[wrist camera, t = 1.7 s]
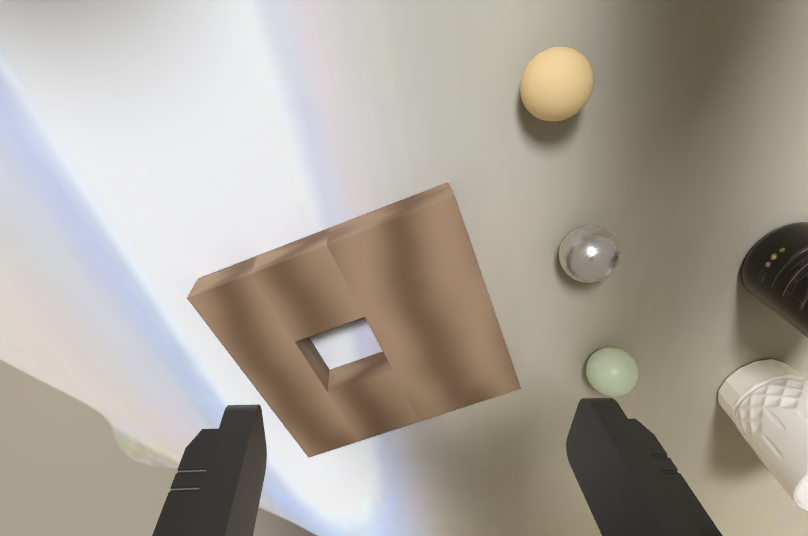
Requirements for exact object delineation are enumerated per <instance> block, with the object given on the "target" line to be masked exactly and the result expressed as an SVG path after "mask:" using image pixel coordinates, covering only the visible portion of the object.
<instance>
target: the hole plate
mask: <svg viewBox="0 0 808 536" xmlns="http://www.w3.org/2000/svg"><path fill="white" fill-rule="evenodd" d="M187 299H188V300H189V301H190V303H191V304H192V305H193V307H194V308H195V309H196V311H197V312H198V313H199V315H200V316H201V317H202V319H203V320H204V321H205V322H206V324H207V325H208V326H209V328H210V329H211V330H212V332H213V333H214V334H215V336H216V337H217V338H218V339H219V341H220V342H221V343H222V345H223V346H224V347H225V349H226V350H227V351H228V353H229V354H230V355H231V357H232V358H233V359H234V360H235V362H236V363H237V364H238V366H239V367H240V368H241V370H242V371H243V372H244V374H245V375H246V376H247V378H248V379H249V380H250V381H251V383H252V384H253V385H254V387H255V388H256V389H257V391H258V392H259V393H260V395H261V396H262V397H263V398H264V400H265V401H266V402H267V404H268V405H269V406H270V408H271V409H272V410H273V412H274V413H275V414H276V416H277V417H278V418H279V419H280V421H281V422H282V423H283V425H284V426H285V427H286V429H287V430H288V431H289V433H290V434H291V435H292V437H293V438H294V439H295V440H296V442H297V443H298V444H299V446H300V447H301V448H302V450H303V451H304V452H305V454H306V455H307V456H308V457H312V456H315V455H318V454H321V453H324V452H327V451H330V450H333V449H336V448H340V447H343V446H346V445H349V444H352V443H355V442H358V441H361V440H364V439H367V438H370V437H373V436H376V435H379V434H383V433H386V432H389V431H392V430H395V429H398V428H401V427H404V426H407V425H410V424H413V423H416V422H419V421H422V420H426V419H429V418H432V417H435V416H438V415H441V414H444V413H447V412H450V411H453V410H456V409H459V408H462V407H465V406H469V405H472V404H475V403H478V402H481V401H484V400H487V399H490V398H493V397H496V396H499V395H502V394H505V393H508V392H512V391H515V390H518V389H521V387H520V385H519V382H518V379H517V376H516V373H515V370H514V367H513V364H512V361H511V358H510V355H509V353H508V350H507V347H506V344H505V341H504V338H503V335H502V332H501V329H500V326H499V324H498V321H497V318H496V315H495V312H494V309H493V306H492V303H491V300H490V297H489V294H488V292H487V289H486V286H485V283H484V280H483V277H482V274H481V271H480V268H479V265H478V262H477V260H476V257H475V254H474V251H473V248H472V245H471V242H470V239H469V236H468V233H467V230H466V228H465V225H464V222H463V219H462V216H461V213H460V210H459V207H458V204H457V201H456V199H455V196H454V194H453V191H452V189H451V187H450V185H449V183H445V184H443V185H440V186H437V187H435V188H432V189H430V190H427V191H424V192H422V193H419V194H417V195H414V196H411V197H409V198H406V199H404V200H401V201H398V202H396V203H393V204H391V205H388V206H385V207H383V208H380V209H378V210H375V211H372V212H370V213H367V214H365V215H362V216H359V217H357V218H354V219H352V220H349V221H346V222H344V223H341V224H339V225H336V226H333V227H331V228H328V229H326V230H323V231H321V232H318V233H315V234H313V235H310V236H308V237H305V238H302V239H300V240H297V241H295V242H292V243H289V244H287V245H284V246H282V247H279V248H276V249H274V250H271V251H269V252H266V253H263V254H261V255H258V256H256V257H253V258H250V259H248V260H245V261H243V262H240V263H237V264H235V265H232V266H230V267H227V268H224V269H222V270H219V271H217V272H214V273H211V274H209V275H206V276H204V277H201V278H198V280H197V281H196V283H195V285H194V287H193V288H192V290H191V292H190V294H189V295H188V297H187ZM363 317H365V318H366V320H367V322H368V324H369V326H370V328H371V330H372V331H373V333H374V335H375V337H376V339H377V341H378V343H379V345H380V347H381V348H382V350H383V352H380V353H377V354H375V355H372V356H369V357H366V358H363V359H360V360H357V361H354V362H351V363H349V364H346V365H343V366H340V367H337V368H334V369H331V370H329V369H328V367H327V366H326V364H325V362H324V361H323V359H322V358H321V356H320V354H319V353H318V351H317V350H316V348H315V346H314V345H313V343H312V342H311V340H310V338H309V337H310V336H313V335H315V334H318V333H321V332H324V331H326V330H329V329H332V328H335V327H338V326H340V325H343V324H346V323H349V322H352V321H354V320H357V319H360V318H363Z"/></svg>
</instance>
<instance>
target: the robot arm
mask: <svg viewBox="0 0 808 536" xmlns="http://www.w3.org/2000/svg"><path fill="white" fill-rule="evenodd" d="M566 449H567V456H568V460H569V463H570V465H571V468H572V470H573V472H574V474H575V477H576V479H577V481H578V483H579V485H580V488H581V490H582V492H583V494H584V496H585V499H586V501H587V503H588V505H589V507H590V510H591V512H592V514H593V516H594V519H595V521H596V523H597V525H598V527H599V530H600V532H601V534H602V536H722V534H721V533H720V532H719V530H718V529H717V527H716V526H715V524H714V523H713V521H712V520H711V518H710V517H709V515H708V514H707V512H706V511H705V509H704V508H703V506H702V505H701V504H700V502H699V501H698V499H697V498H696V496H695V495H694V493H693V492H692V490H691V489H690V487H689V486H688V484H687V483H686V481H685V480H684V478H683V477H682V475H681V474H680V473H678V472H677V470H678V469H677V468H676V466H675V465H674V464H673V462H672V461H671V459H670V458H668V457H667V453H666V452H665V450H664V449H663V447H662V446H661V444H660V443H659V441H658V440H657V438H656V437H655V435H654V434H653V433H651V432H650V431H649V430H648V429H647V428H646V427H644V426H643V425H642V424H641V423H640V422H639V421H637V420H636V419H628V418H627V417H626V415H625V414H624V412H623V410H622V409H621V407H620V406H619V404H618V403H617V402H616V400H614V399H613V398H585V399H581V400H580V402H579V404H578V407H577V410H576V413H575V416H574V419H573V422H572V425H571V428H570V431H569V434H568V437H567V443H566ZM266 458H267V449H266V440H265V432H264V425H263V417H262V410H261V406H260V405H228V406H227V407H226V409H225V411H224V414H223V417H222V420H221V424H220V427H219V429H202V430H201V431H200V432H199V434H198V435H197V436H196V437H195V438H194V439H193V440H192V442H191V443H190V444H189V445H188V446H187V447H186V449H185V452H184V454H183V457H182V459H181V462H180V465H179V467H178V473H177V474H176V475H175V478H174V480H173V483H172V486H171V491H170V492H169V493H168V496H167V499H166V501H165V504H164V506H163V509H162V512H161V514H160V517H159V519H158V522H157V525H156V527H155V530H154V532H153V535H152V536H253V532H254V527H255V521H256V516H257V511H258V506H259V501H260V496H261V491H262V486H263V481H264V476H265V470H266Z"/></svg>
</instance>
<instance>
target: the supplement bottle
mask: <svg viewBox="0 0 808 536" xmlns="http://www.w3.org/2000/svg"><path fill="white" fill-rule="evenodd" d="M742 280H743V284H744V286H745V288H746V289H747V290H748V292H749V293H751V294H752V295H753V296H754V297H755V298H757V299H758V300H759V301H760V302H762V303H763V304H764V305H766V306H767V307H768V308H770V309H771V310H772V311H774V312H775V313H776V314H778V315H779V316H780V317H781V318H783V319H784V320H785V321H787V322H788V323H789V324H791V325H792V326H793V327H795V328H796V329H797V330H799V331H800V332H801V333H803V334H804V335H805V336H807V337H808V222H800V223H793V224H789V225H785V226H782V227H780V228H778V229H776V230H774V231H772V232H770V233H769V234H767V235H766V236H764V237H763V238H762V239H761V240H760V241H759V242H757V243H756V245H755V246H754V247H753V248H752V249H751V251H750V252H749V253H748V255H747V257H746V259H745V261H744V264H743V268H742Z"/></svg>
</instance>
